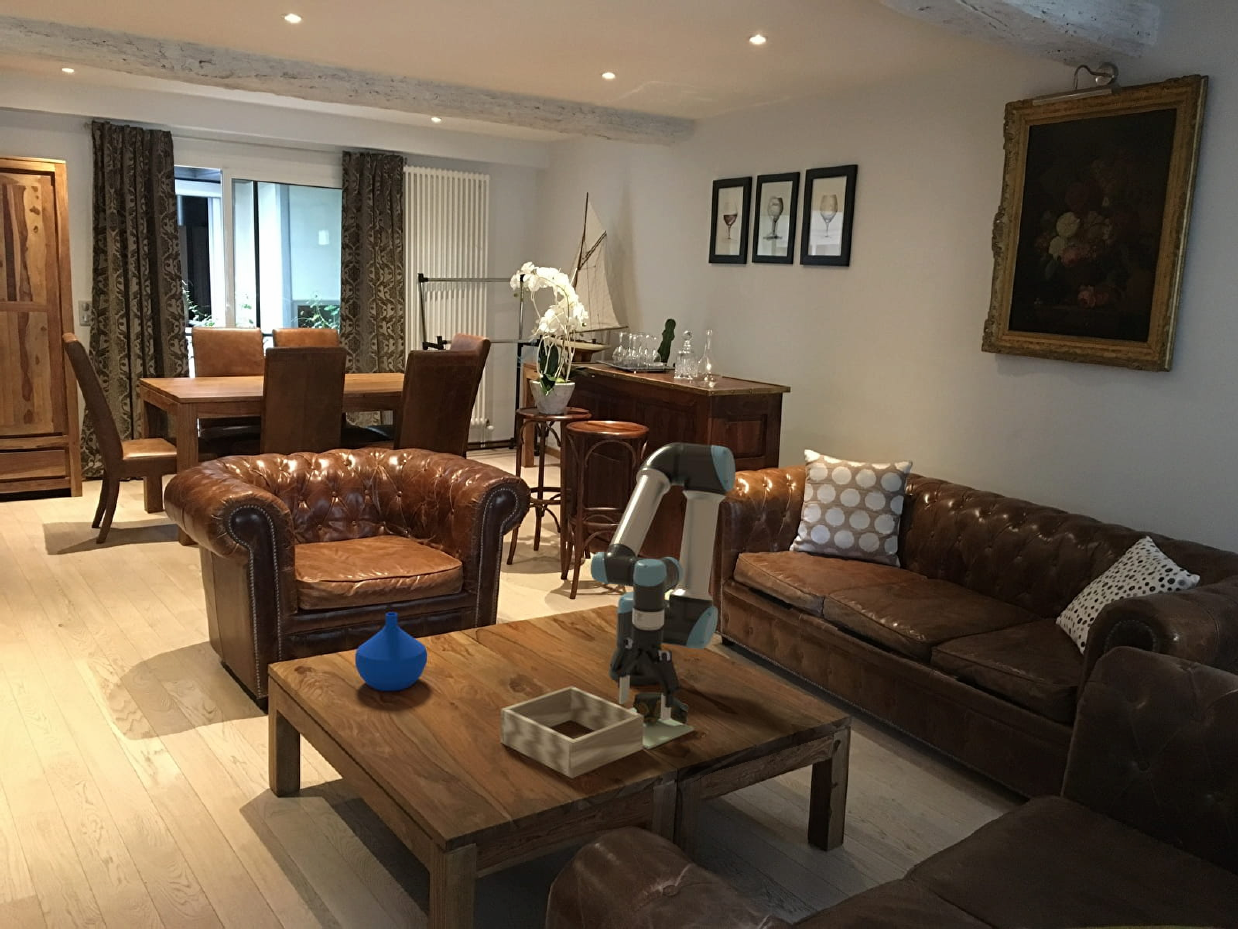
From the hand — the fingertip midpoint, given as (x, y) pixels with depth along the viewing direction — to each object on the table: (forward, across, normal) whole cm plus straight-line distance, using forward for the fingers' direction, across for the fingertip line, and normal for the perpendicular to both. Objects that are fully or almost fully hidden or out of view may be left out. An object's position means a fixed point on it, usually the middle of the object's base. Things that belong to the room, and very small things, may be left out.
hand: (644, 710), depth 244 cm
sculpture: (+5, +2, 0) cm, 5 cm away
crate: (+4, -4, -20) cm, 21 cm away
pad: (+4, 0, 0) cm, 4 cm away
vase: (+4, -62, -30) cm, 69 cm away
